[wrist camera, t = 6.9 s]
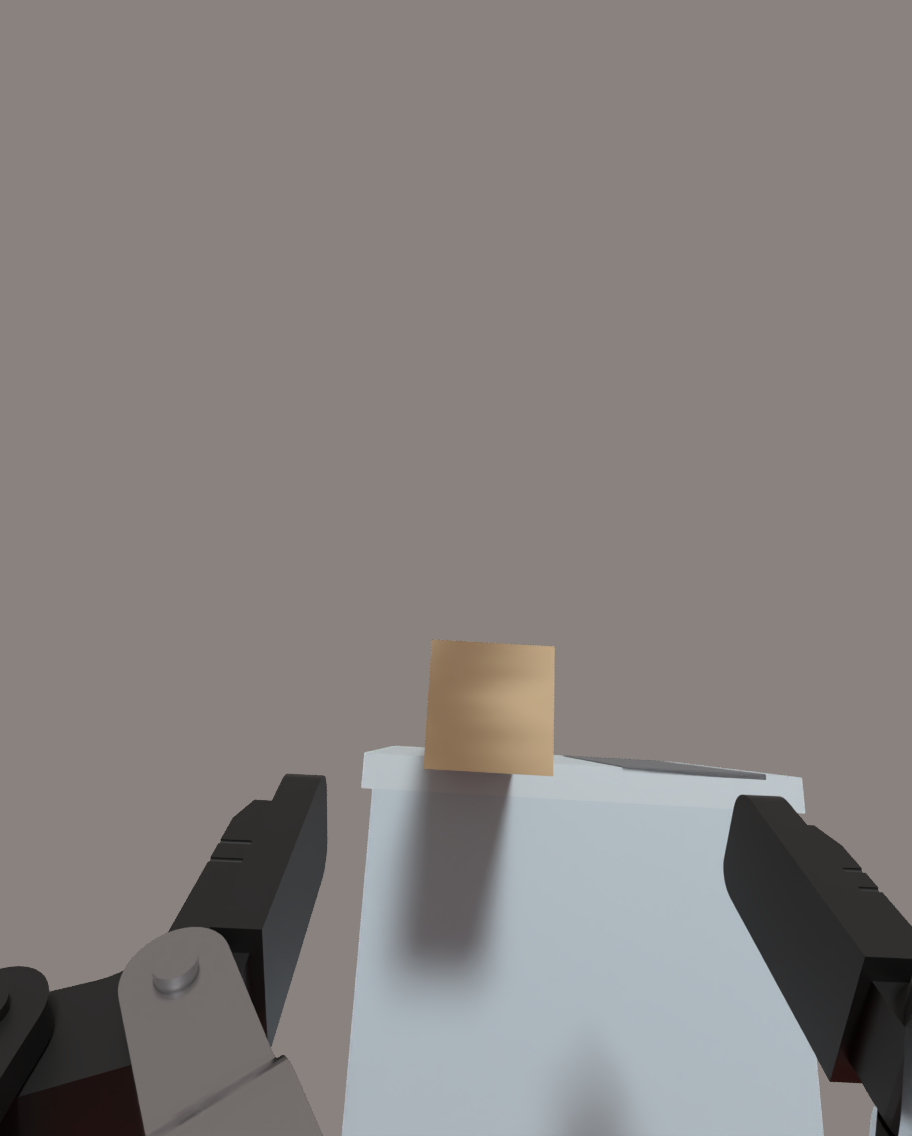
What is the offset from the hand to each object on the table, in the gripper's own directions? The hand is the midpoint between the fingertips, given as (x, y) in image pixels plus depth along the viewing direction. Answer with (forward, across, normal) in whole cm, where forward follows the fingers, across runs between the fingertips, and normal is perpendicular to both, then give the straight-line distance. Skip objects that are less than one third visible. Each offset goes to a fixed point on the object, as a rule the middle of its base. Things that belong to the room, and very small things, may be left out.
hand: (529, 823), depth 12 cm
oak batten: (+12, -1, -6) cm, 13 cm away
